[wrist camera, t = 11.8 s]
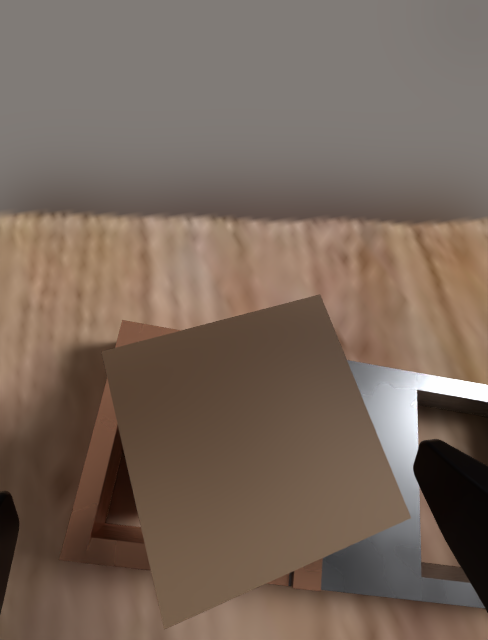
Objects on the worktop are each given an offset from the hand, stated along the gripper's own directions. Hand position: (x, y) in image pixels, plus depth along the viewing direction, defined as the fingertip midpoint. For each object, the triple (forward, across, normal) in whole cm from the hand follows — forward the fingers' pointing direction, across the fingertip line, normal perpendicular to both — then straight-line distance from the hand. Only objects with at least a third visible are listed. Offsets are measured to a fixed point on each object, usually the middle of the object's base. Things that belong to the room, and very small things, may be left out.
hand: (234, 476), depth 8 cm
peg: (+7, 0, +6) cm, 9 cm away
